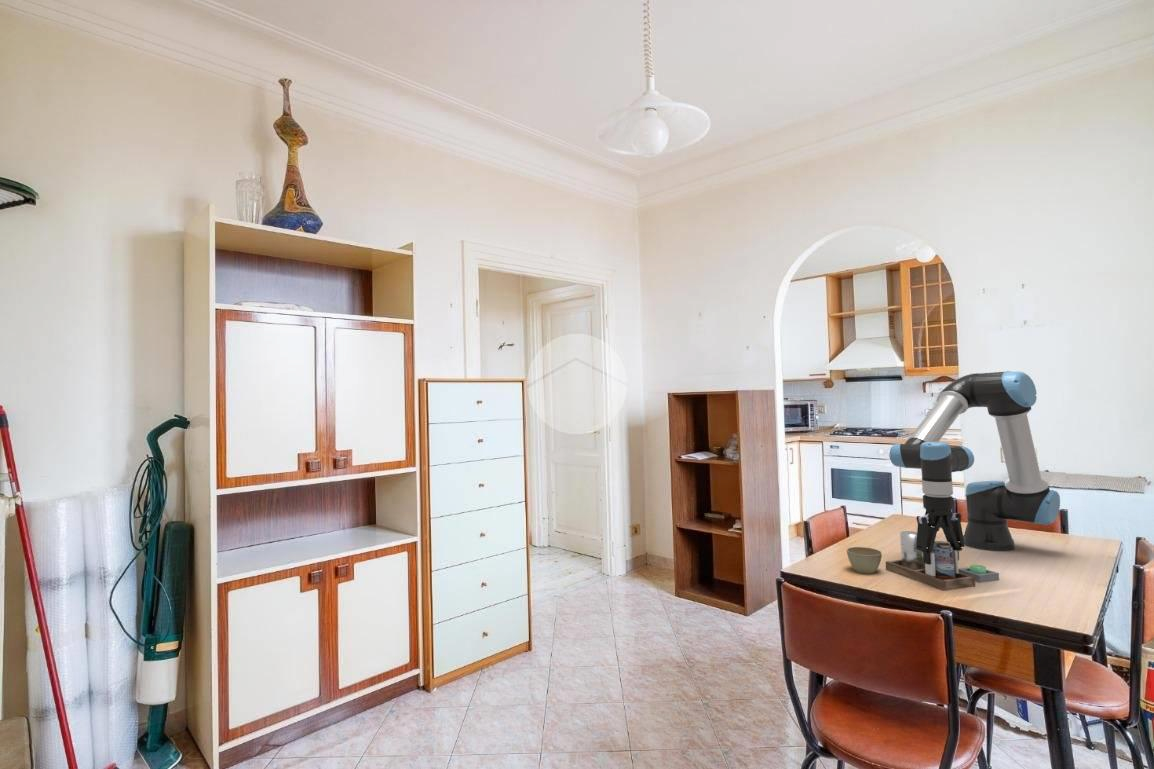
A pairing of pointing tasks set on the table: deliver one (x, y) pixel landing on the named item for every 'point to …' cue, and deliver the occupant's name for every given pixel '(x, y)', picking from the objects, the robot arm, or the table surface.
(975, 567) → the button
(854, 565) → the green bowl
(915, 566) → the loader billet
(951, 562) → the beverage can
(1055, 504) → the robot arm
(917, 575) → the brown compartment tray
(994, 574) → the gray soap dish
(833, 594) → the table surface
